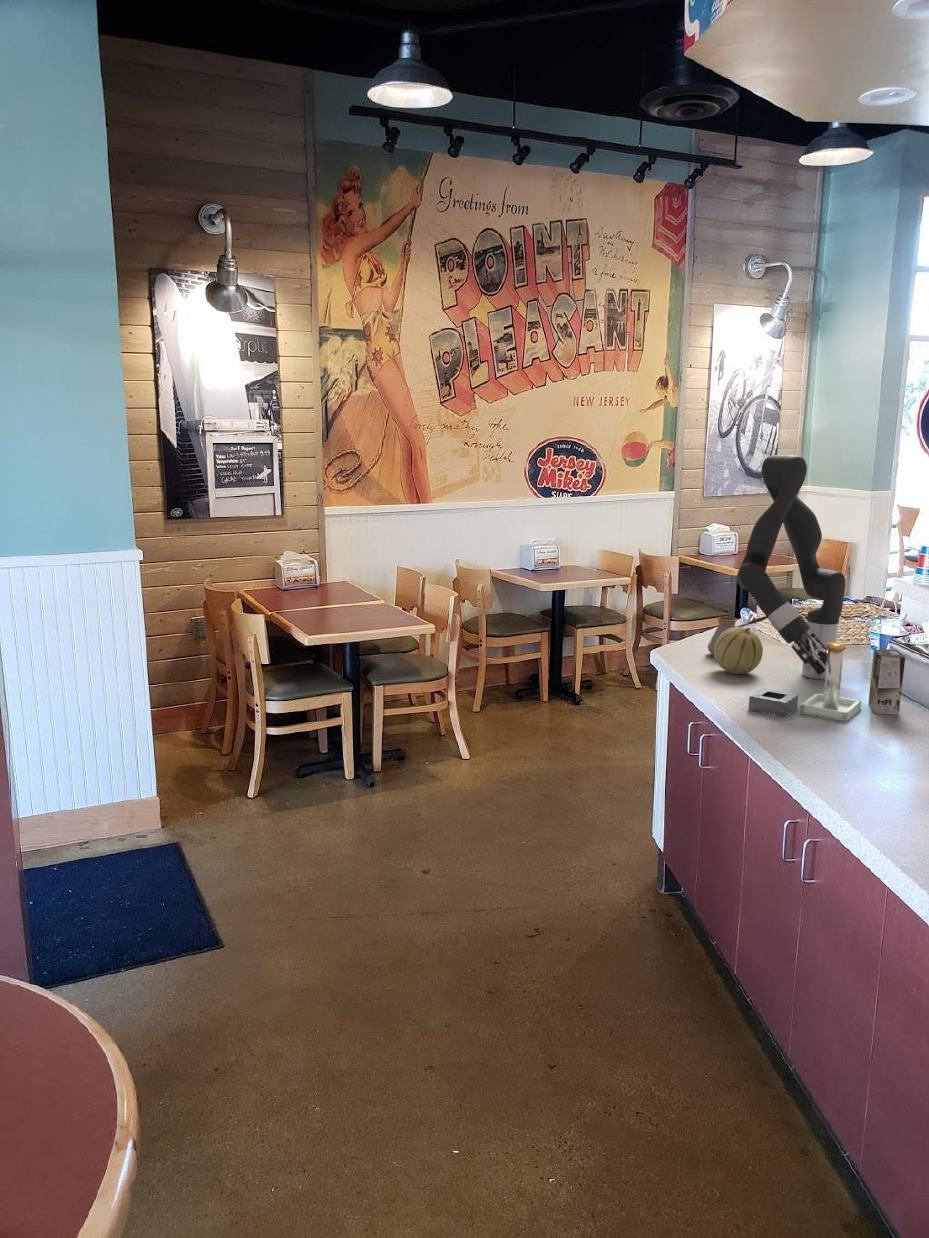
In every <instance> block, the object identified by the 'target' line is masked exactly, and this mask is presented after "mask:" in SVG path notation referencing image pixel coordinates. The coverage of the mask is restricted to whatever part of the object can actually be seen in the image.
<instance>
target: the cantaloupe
mask: <svg viewBox="0 0 929 1238" xmlns="http://www.w3.org/2000/svg"><path fill="white" fill-rule="evenodd" d="M763 652H764V647H763V643H762V641H761V638H760V637H759V635H758V634H756V633H755V632H754V631H752V629H751V628H750V627H747V628H746V627H736V626H735V627H733V628H729V629H727V630H725V631H724V632H722V633H721V634H720V636H719V637H718V639H717V640H716V643H715V647H714V656H713V657H714V660H715V662H716V663H717V665H718V666H719V667H720V668H721V669H722V670H724V671H725V672H726V673H729V674H733V675H744V674H745V675H746V674H748V673H751V672H753V671H754V670H755V669H756V668H757V667H758V665H759V664H761V661H762V657H763Z"/></svg>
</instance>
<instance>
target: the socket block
mask: <svg viewBox="0 0 929 1238" xmlns="http://www.w3.org/2000/svg"><path fill="white" fill-rule="evenodd" d="M748 696H749V697H748V711H751V712H754V713H755V712H757V713H760V712H765V713H770V714H769V715H771V714H775V715H774V716H776V715H779V716H778V717H781V716H783V718H786V717H788V716H789V715H790V714H791V712H792V713H793V712H794V711H796V710H797V709H798V704H799V694H798V693H791V692H787V691H781V690H776V689H770V688H765V687H762V688H760V689H759V690H756V691H754V693H752V694H751V695H748ZM765 713H764V714H765ZM789 713H790V714H789ZM788 714H789V715H788ZM785 716H786V717H785Z"/></svg>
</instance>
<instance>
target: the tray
mask: <svg viewBox="0 0 929 1238" xmlns="http://www.w3.org/2000/svg"><path fill="white" fill-rule="evenodd" d="M823 696H824V693H819V692H816V693H814V694H813V695H812V696H810V697H809V698H807V700H805V701H804V702H802V703H800V707H799V714H801V713H803V714H802V715H806V714H808V715H807V716H811V715H813V716H812V717H816V716H818V717H817V718H821V717H823V719H827V718H828V719H827V720H832V719H834V720H833V721H837V720H839V721H838V722H842V721H843V722H842V723H847V722H848V721H849V720H850V719H851V718H853V716H855V715H856V714H858V713H859V711H860V710H861V709H862V708H861V707H862V706H861V705H862V700H859V699H853V698H848V697H842V696H839V706H838V710H833V709H828V708H823Z"/></svg>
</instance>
